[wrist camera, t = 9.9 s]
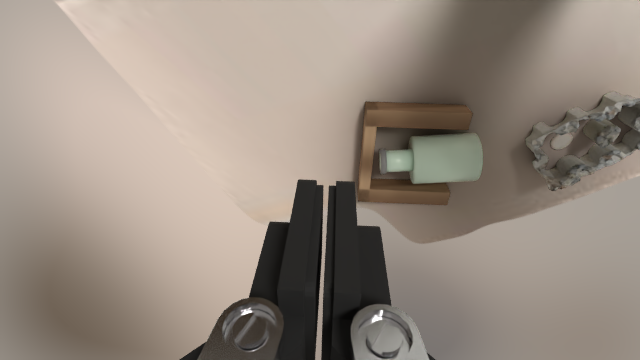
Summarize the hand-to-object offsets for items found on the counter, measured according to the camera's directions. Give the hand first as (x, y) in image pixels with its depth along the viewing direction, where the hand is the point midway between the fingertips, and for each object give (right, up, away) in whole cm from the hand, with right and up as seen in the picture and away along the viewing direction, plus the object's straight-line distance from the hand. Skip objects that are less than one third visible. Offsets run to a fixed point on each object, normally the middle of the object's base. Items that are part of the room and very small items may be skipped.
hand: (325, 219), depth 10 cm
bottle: (+16, +4, +26) cm, 31 cm away
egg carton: (+28, +7, +27) cm, 40 cm away
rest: (+10, +5, +29) cm, 31 cm away
